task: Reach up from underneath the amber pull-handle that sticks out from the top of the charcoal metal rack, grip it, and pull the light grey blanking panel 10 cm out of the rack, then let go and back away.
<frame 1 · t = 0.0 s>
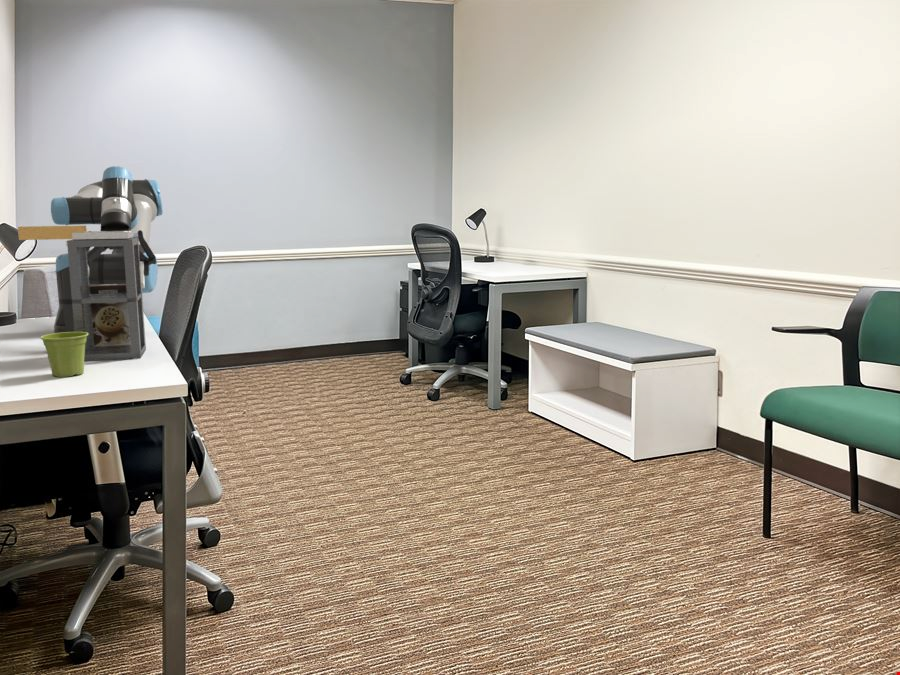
hand: (114, 286, 214), 15 cm above the table, tool tilted 35°, fingers open, 13 cm apart
coffee box: (112, 347, 215), on the table
rack: (112, 355, 202), on the table
blanking panel: (76, 232, 196), point 30 cm above the table, slide at 0.0 cm
plant pot: (68, 375, 179), on the table
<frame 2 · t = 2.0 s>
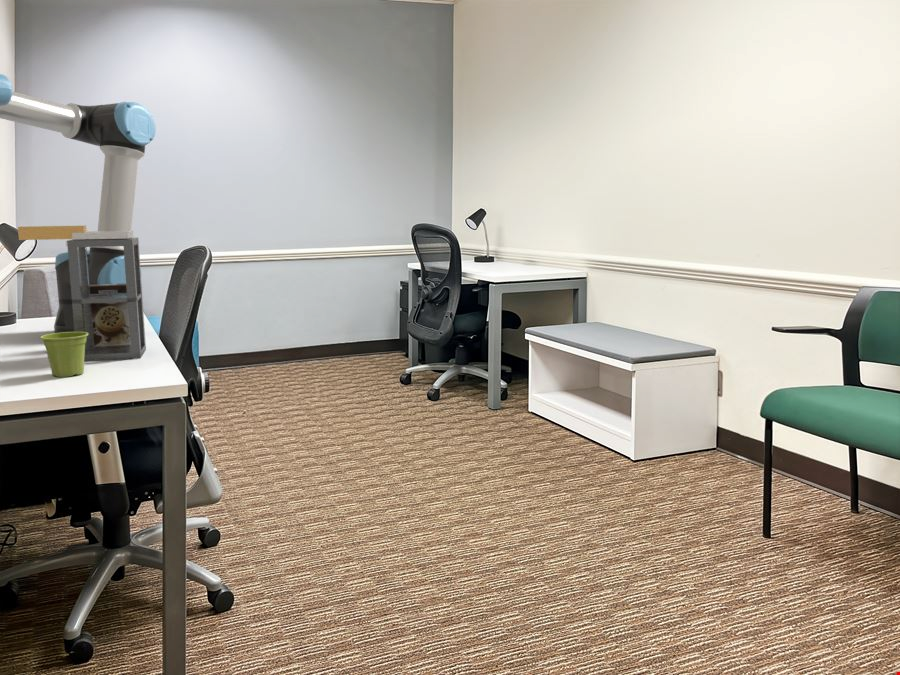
nothing on the table moved.
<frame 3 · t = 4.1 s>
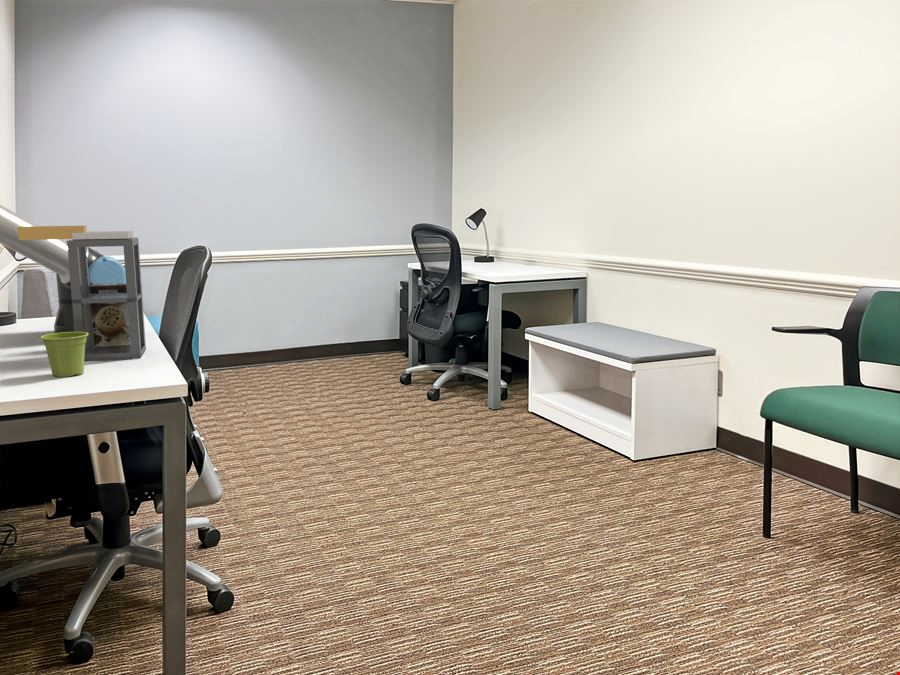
nothing on the table moved.
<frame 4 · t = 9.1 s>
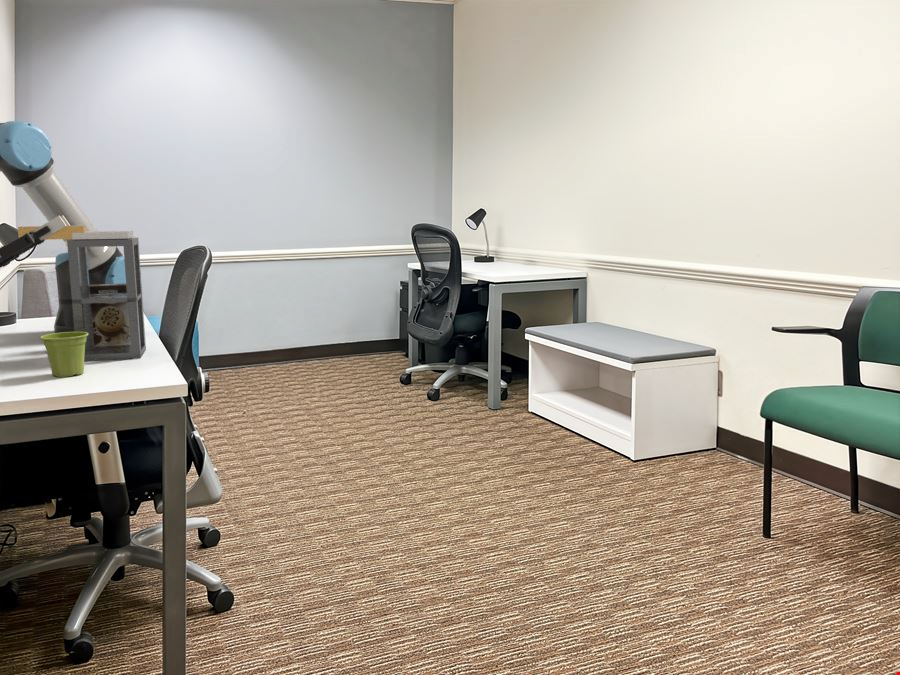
hand: (64, 220, 195), 32 cm above the table, tool pointing upward, fingers closed on blanking panel, 3 cm apart
blanking panel: (76, 232, 196), point 30 cm above the table, slide at 0.0 cm, touching gripper
everything else where it was.
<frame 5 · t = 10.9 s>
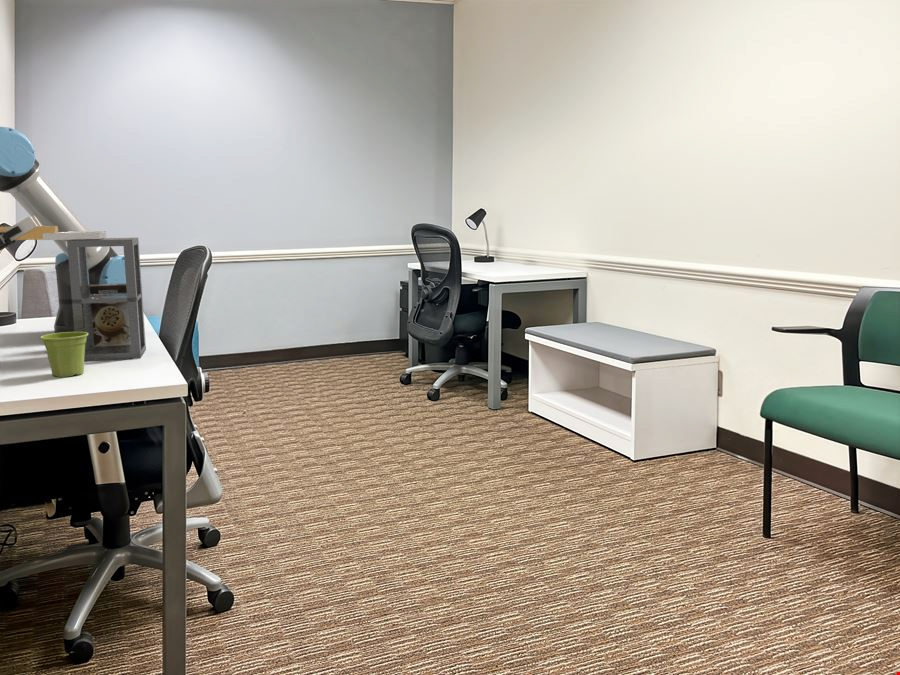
hand: (35, 221, 193), 32 cm above the table, tool pointing upward, fingers closed on blanking panel, 4 cm apart
blanking panel: (47, 232, 194), point 30 cm above the table, slide at 6.2 cm, touching gripper
everything else where it was.
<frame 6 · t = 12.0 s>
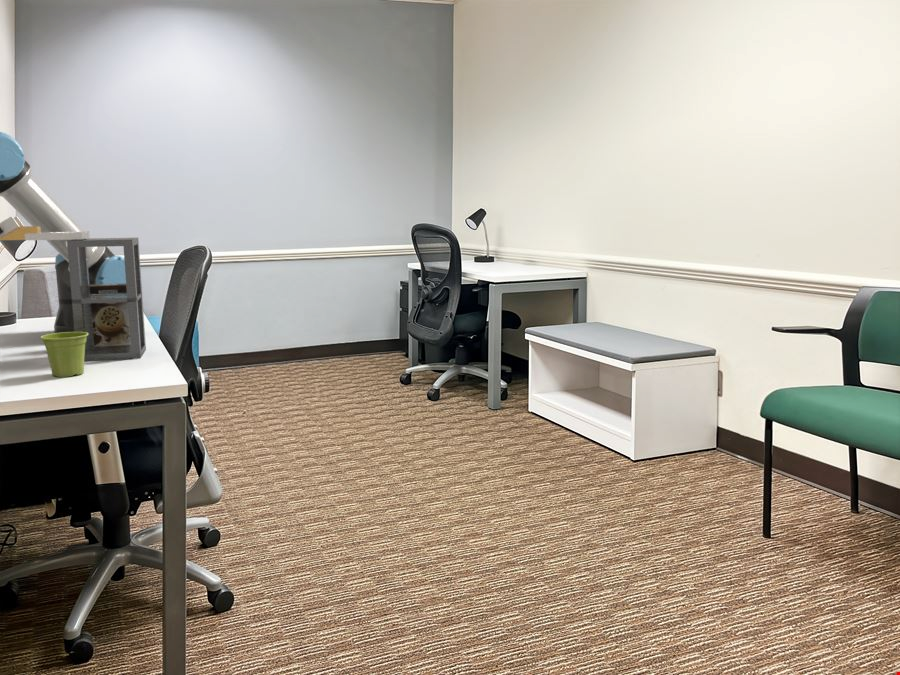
hand: (17, 221, 192), 32 cm above the table, tool pointing upward, fingers closed on blanking panel, 3 cm apart
blanking panel: (29, 233, 193), point 30 cm above the table, slide at 10.0 cm, touching gripper
everything else where it was.
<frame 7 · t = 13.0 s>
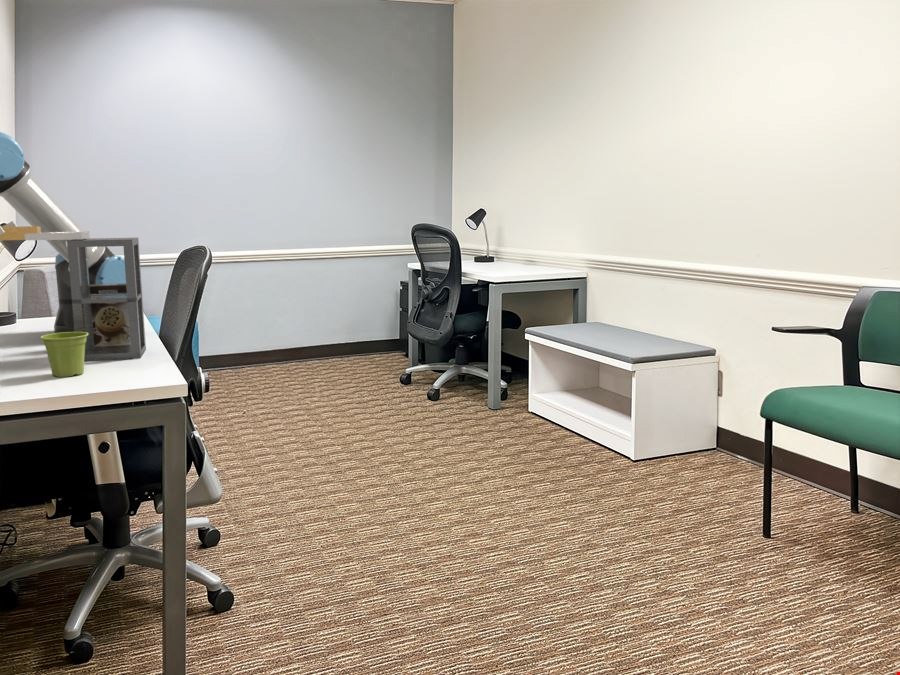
hand: (9, 226, 192), 31 cm above the table, tool pointing upward, fingers open, 13 cm apart
blanking panel: (29, 233, 193), point 30 cm above the table, slide at 10.0 cm
everything else where it was.
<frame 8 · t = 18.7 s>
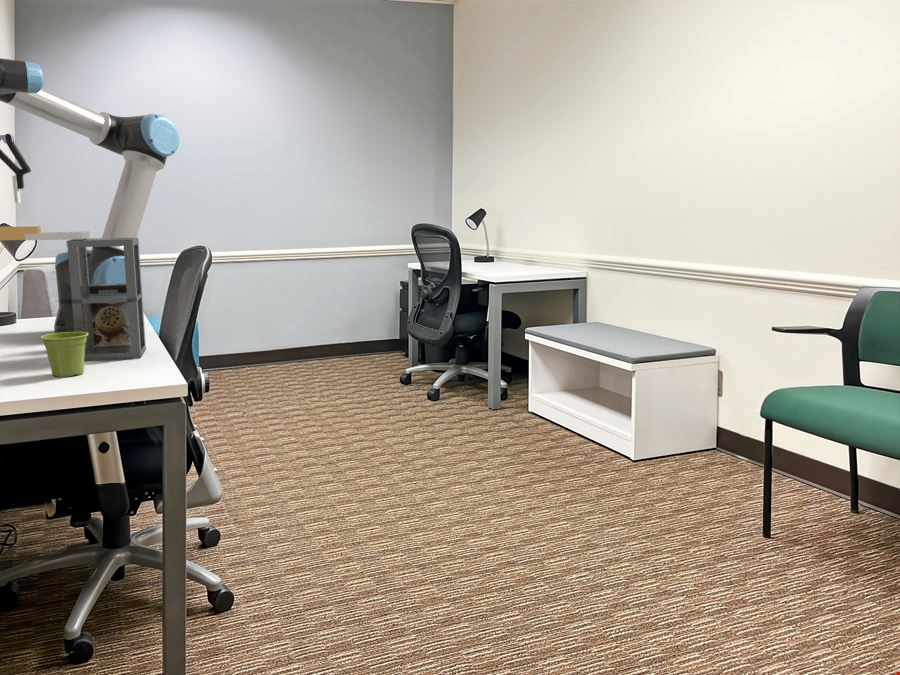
nothing on the table moved.
at the end: blanking panel slide at 10.0 cm; the gripper is holding nothing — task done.
